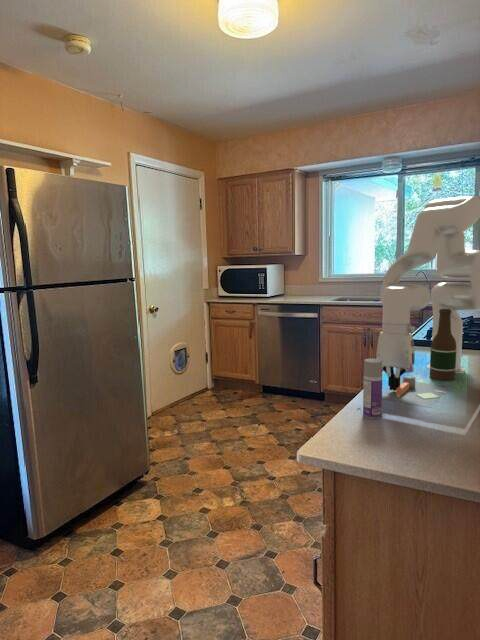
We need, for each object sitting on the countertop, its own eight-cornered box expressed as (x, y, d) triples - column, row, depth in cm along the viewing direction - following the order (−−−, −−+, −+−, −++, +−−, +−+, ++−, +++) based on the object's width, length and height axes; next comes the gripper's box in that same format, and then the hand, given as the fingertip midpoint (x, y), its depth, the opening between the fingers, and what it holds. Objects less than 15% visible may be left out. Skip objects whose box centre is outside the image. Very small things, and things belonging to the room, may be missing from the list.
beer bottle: (458, 385, 137) (462, 310, 134) (432, 384, 139) (435, 310, 135) (451, 378, 145) (454, 307, 141) (426, 377, 147) (429, 307, 143)
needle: (404, 383, 135) (405, 375, 135) (416, 385, 133) (416, 376, 133) (392, 393, 126) (392, 384, 126) (404, 396, 124) (405, 386, 124)
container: (381, 413, 115) (382, 358, 113) (381, 419, 111) (382, 363, 109) (363, 411, 117) (364, 357, 115) (362, 417, 112) (363, 362, 110)
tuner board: (402, 383, 141) (402, 379, 141) (450, 390, 132) (451, 386, 132) (378, 402, 124) (378, 397, 124) (432, 412, 115) (432, 407, 115)
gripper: (426, 329, 124) (423, 390, 127) (375, 324, 133) (374, 382, 136) (418, 333, 119) (416, 397, 121) (366, 328, 128) (365, 388, 130)
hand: (394, 389), depth 129 cm, fingers closed
